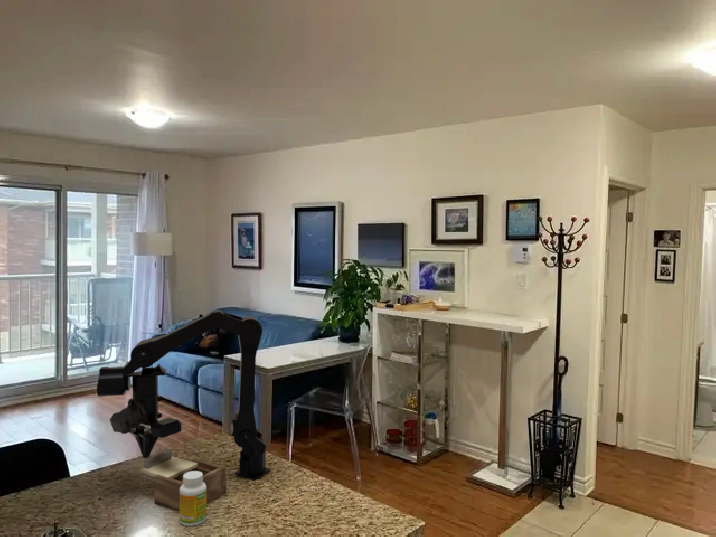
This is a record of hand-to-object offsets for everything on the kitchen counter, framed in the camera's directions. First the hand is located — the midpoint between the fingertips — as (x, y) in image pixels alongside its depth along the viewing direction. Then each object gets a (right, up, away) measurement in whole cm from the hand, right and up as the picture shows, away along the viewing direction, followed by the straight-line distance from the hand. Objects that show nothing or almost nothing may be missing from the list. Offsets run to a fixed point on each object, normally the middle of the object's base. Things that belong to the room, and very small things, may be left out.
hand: (146, 457), depth 133 cm
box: (+13, -7, -7) cm, 16 cm away
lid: (+7, -1, -4) cm, 8 cm away
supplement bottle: (+17, -7, -17) cm, 25 cm away
